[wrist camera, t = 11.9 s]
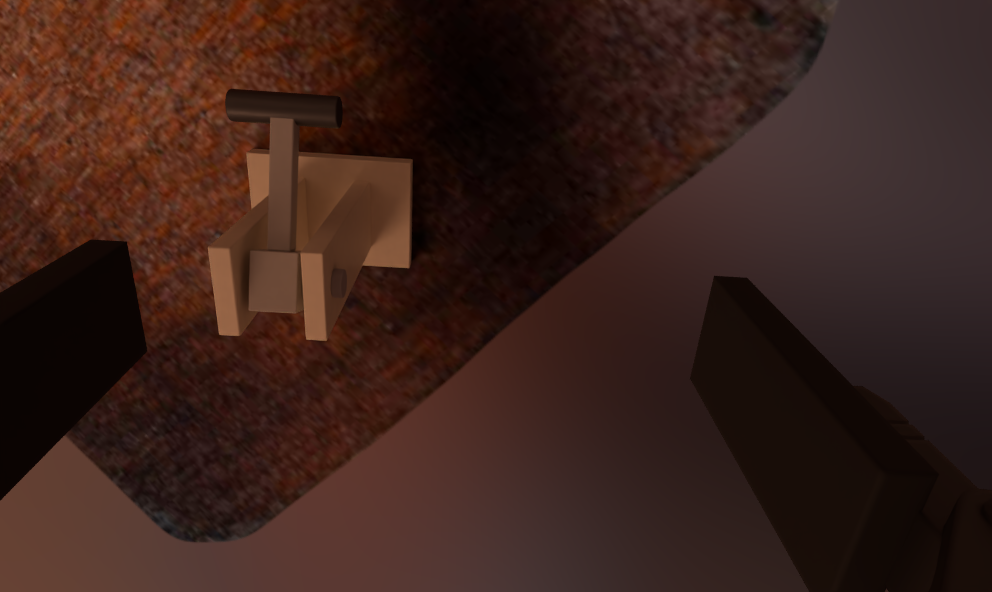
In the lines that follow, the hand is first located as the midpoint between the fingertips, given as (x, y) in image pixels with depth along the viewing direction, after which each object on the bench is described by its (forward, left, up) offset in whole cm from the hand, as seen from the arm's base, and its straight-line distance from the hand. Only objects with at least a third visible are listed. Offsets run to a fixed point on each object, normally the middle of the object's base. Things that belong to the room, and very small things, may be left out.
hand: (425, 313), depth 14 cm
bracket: (+8, +6, -27) cm, 29 cm away
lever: (+8, +3, -17) cm, 19 cm away
